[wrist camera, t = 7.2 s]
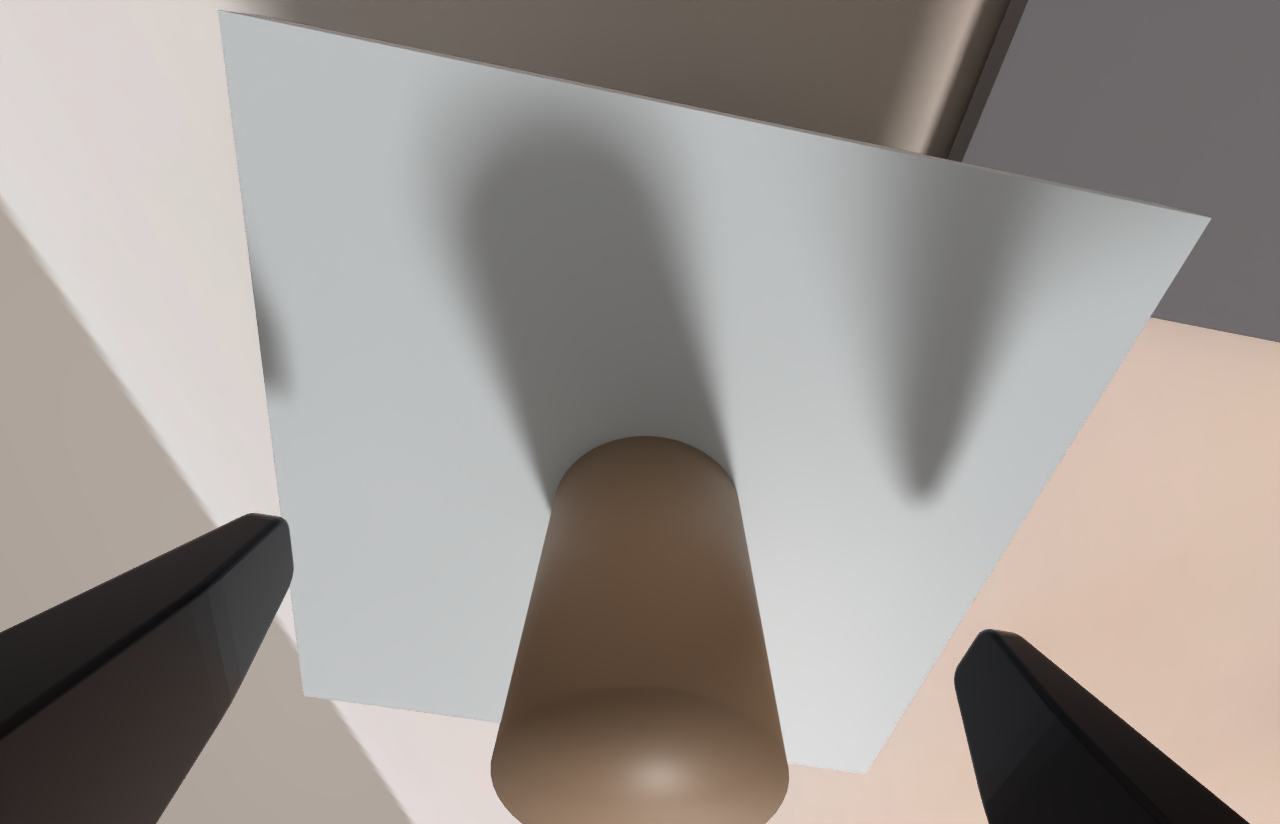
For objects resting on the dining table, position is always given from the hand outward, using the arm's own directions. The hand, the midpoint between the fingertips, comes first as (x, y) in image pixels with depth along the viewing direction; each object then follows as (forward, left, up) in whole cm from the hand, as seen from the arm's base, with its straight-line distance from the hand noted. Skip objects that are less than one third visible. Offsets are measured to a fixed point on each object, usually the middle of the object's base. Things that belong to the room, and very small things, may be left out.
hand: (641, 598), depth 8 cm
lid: (0, 0, -2) cm, 2 cm away
